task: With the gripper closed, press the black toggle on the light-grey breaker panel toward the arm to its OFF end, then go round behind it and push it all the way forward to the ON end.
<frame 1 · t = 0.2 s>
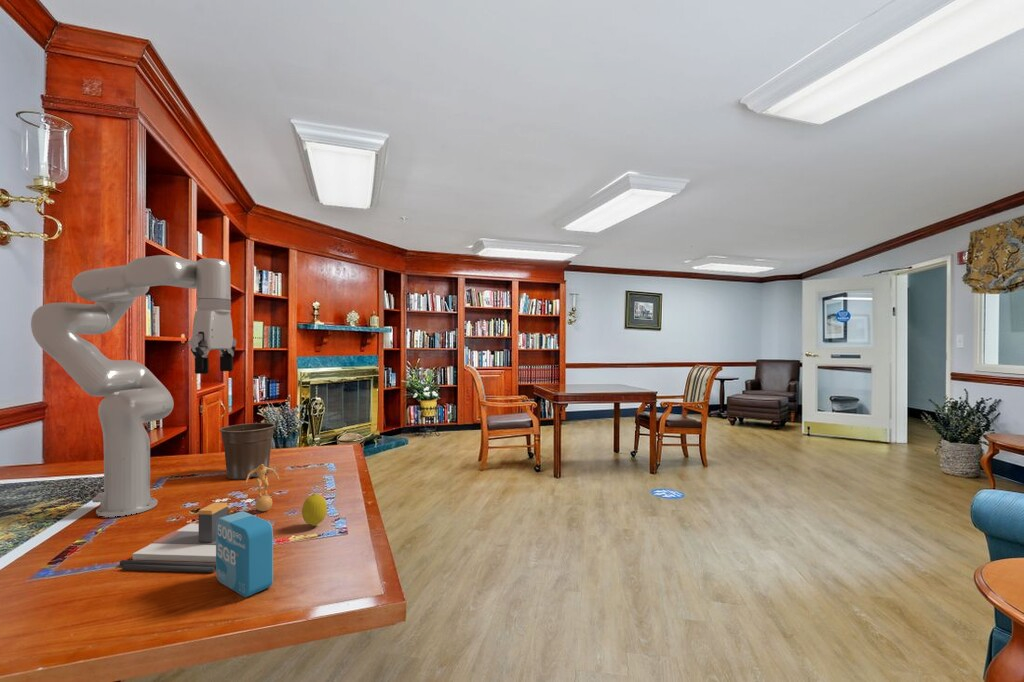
hand: (214, 372, 124), 37 cm above the table, tool pointing down, fingers open, 9 cm apart
toggle: (213, 521, 104), point 5 cm above the table, slide at 1.5 cm
panel: (206, 544, 104), on the table
figurine: (262, 510, 125), on the table
lemon: (314, 527, 114), on the table
plant pot: (248, 475, 158), on the table
data package: (244, 585, 87), on the table
cords: (169, 566, 94), on the table
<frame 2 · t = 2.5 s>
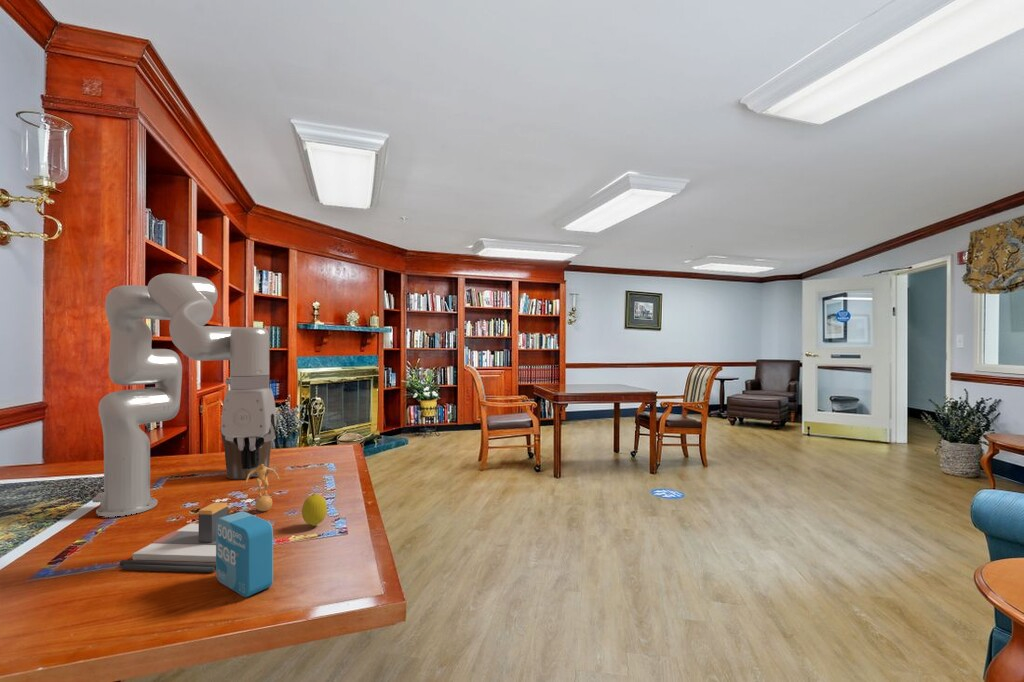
hand: (250, 467, 104), 17 cm above the table, tool pointing down, fingers closed
nothing on the table moved.
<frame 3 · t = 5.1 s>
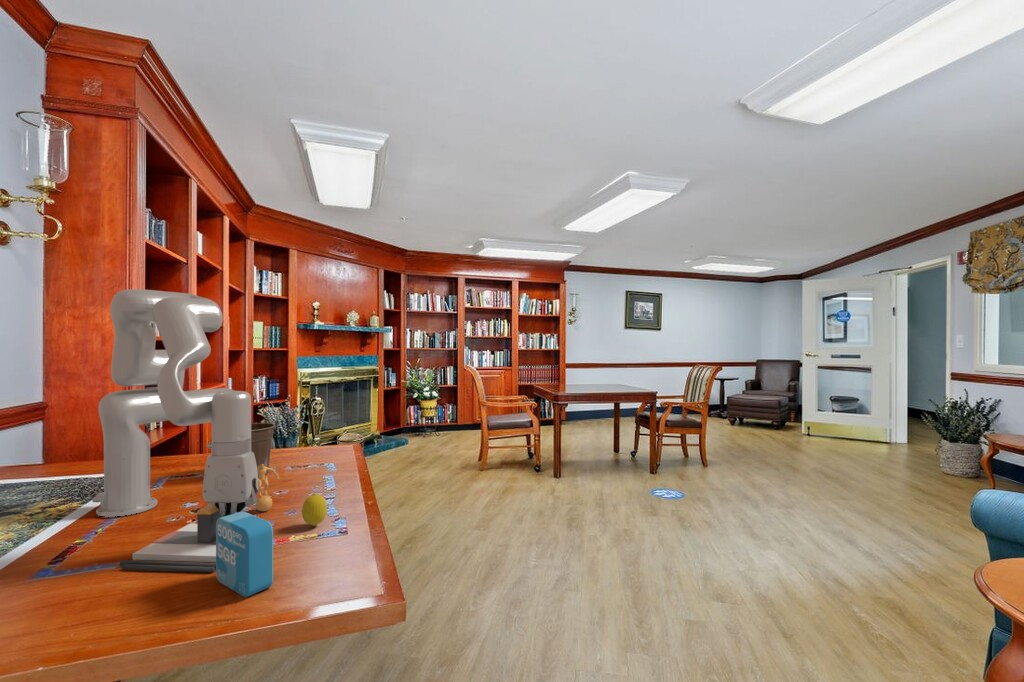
hand: (232, 531, 104), 3 cm above the table, tool pointing down, fingers closed
toggle: (212, 521, 104), point 5 cm above the table, slide at 1.2 cm, touching gripper
everything else where it was.
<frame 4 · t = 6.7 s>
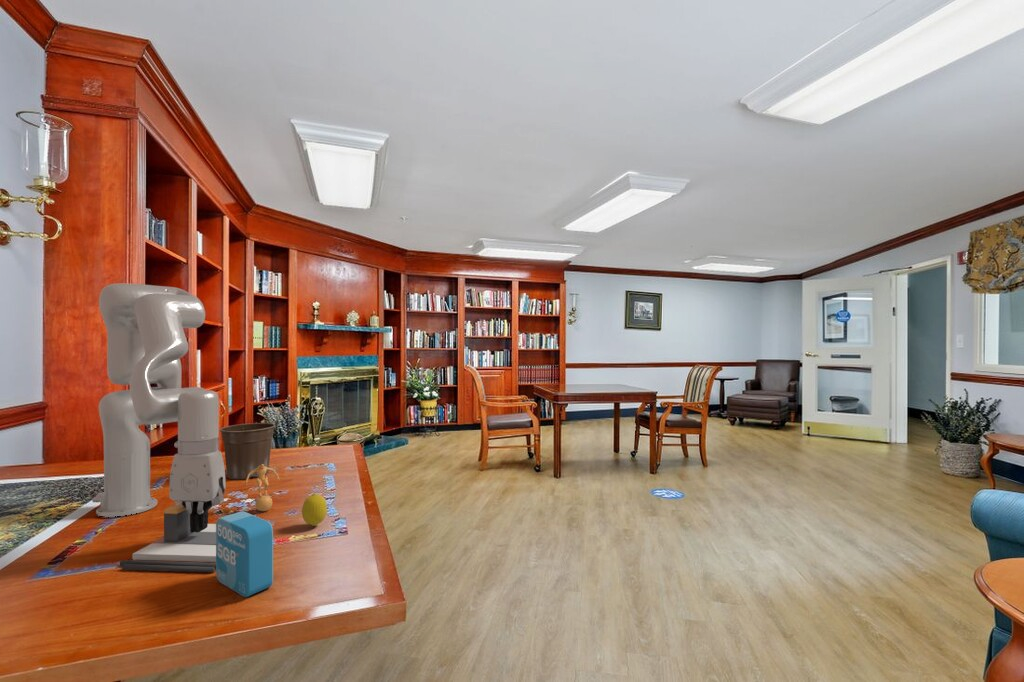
hand: (199, 529, 104), 3 cm above the table, tool pointing down, fingers closed
toggle: (179, 521, 105), point 5 cm above the table, slide at -6.3 cm, touching gripper
everything else where it was.
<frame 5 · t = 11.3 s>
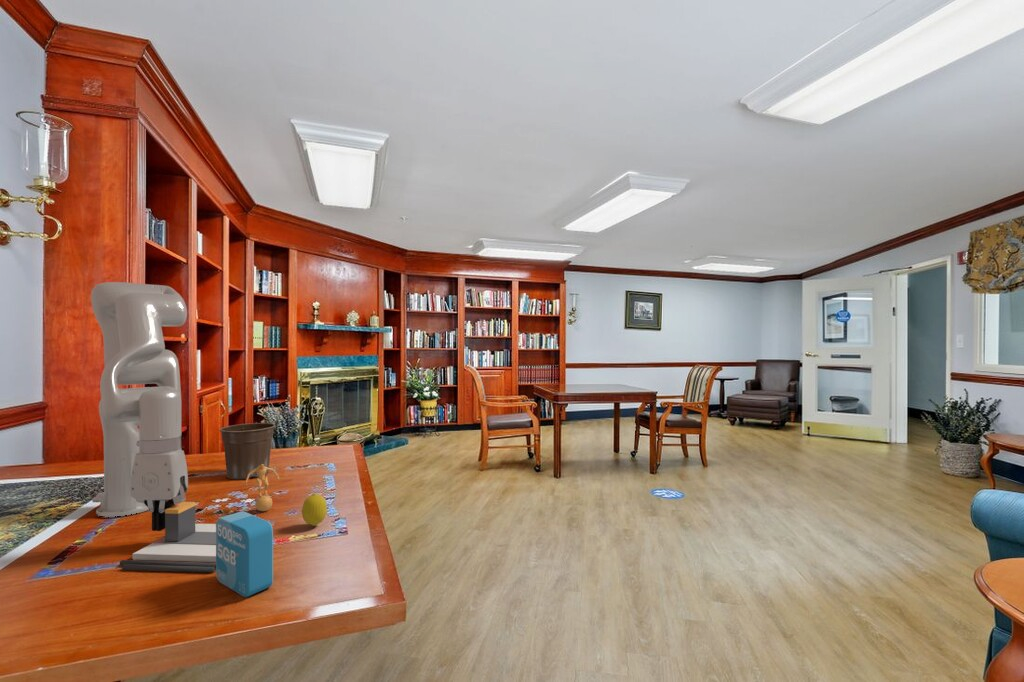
hand: (161, 528, 105), 3 cm above the table, tool pointing down, fingers closed
nothing on the table moved.
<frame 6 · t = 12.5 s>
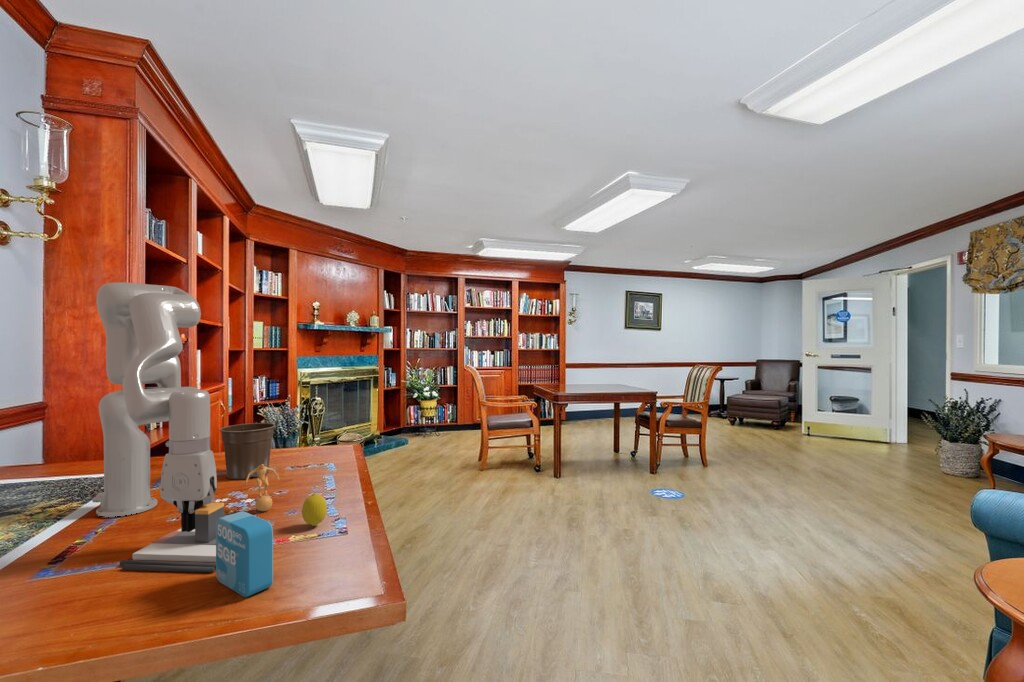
hand: (190, 529, 104), 3 cm above the table, tool pointing down, fingers closed
toggle: (209, 521, 104), point 5 cm above the table, slide at 0.7 cm, touching gripper
everything else where it was.
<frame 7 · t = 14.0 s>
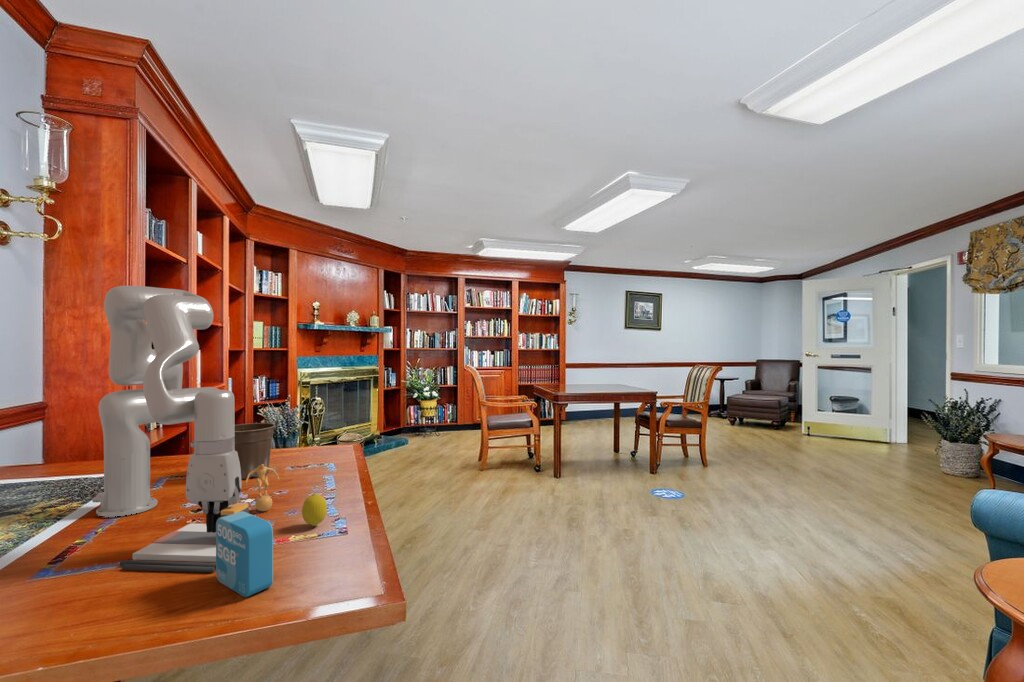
hand: (215, 529, 104), 3 cm above the table, tool pointing down, fingers closed
toggle: (234, 522, 104), point 5 cm above the table, slide at 6.5 cm, touching gripper
everything else where it was.
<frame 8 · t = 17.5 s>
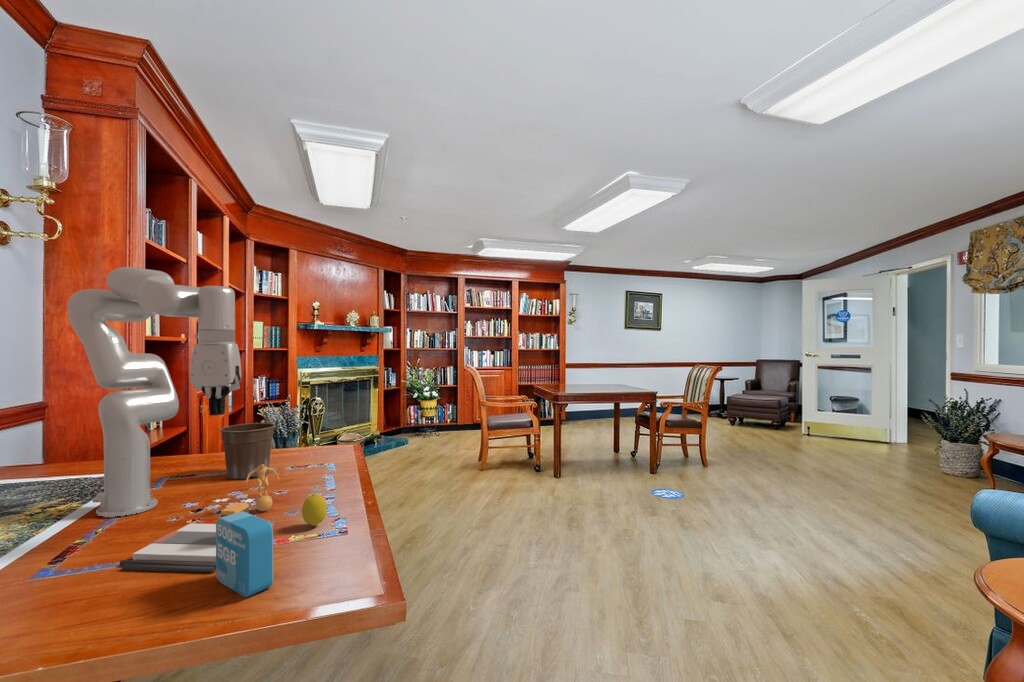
hand: (217, 414, 113), 27 cm above the table, tool pointing down, fingers closed
toggle: (235, 522, 104), point 5 cm above the table, slide at 6.5 cm
everything else where it was.
at the end: toggle slide at 6.5 cm; toggle touching nothing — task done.
